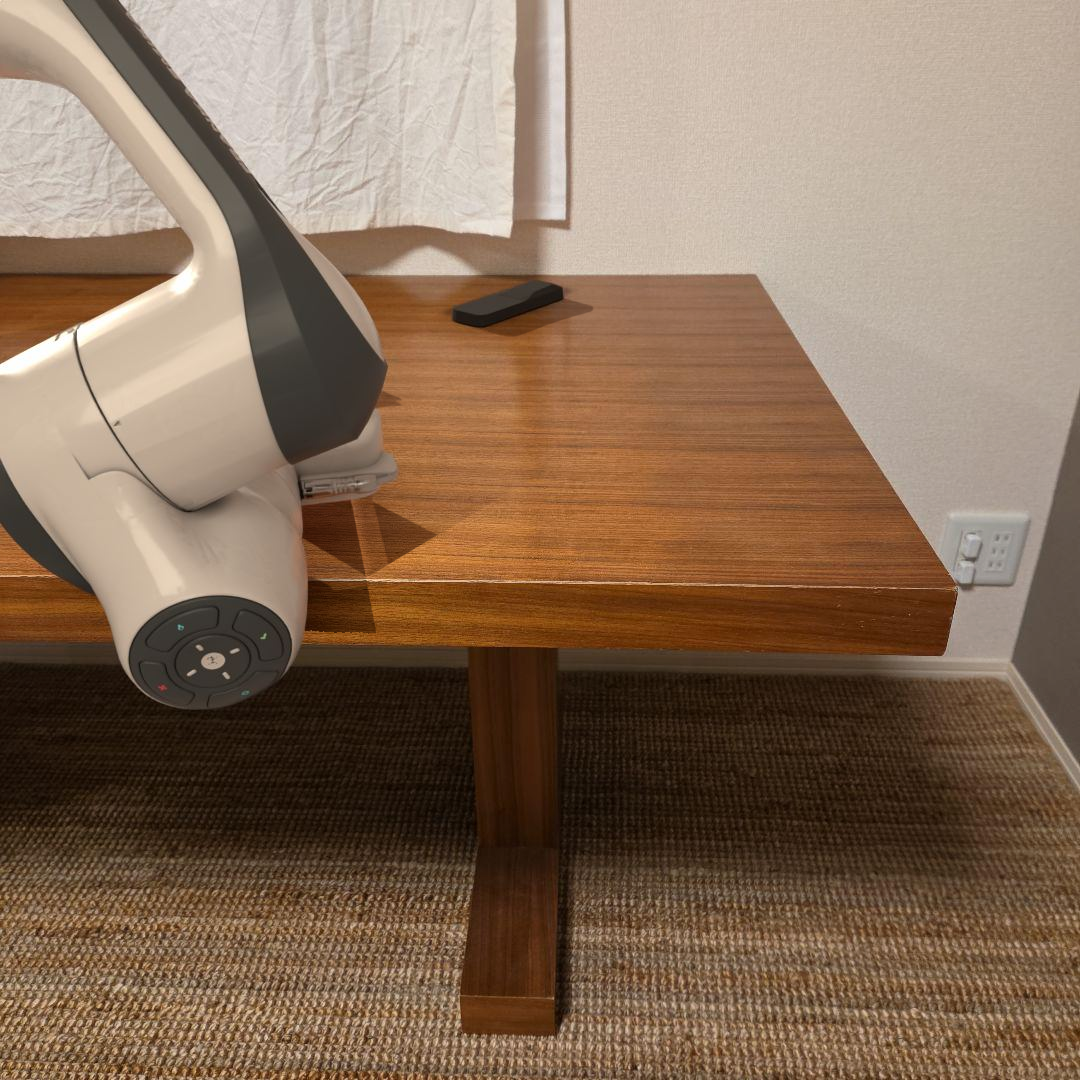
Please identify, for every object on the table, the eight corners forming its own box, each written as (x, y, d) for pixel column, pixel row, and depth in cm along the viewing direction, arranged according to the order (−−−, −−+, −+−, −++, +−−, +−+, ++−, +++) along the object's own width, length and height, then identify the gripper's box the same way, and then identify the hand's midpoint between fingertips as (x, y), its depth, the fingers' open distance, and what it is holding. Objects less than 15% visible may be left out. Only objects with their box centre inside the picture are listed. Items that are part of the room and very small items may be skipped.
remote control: (481, 333, 108) (567, 297, 118) (480, 316, 107) (566, 282, 117) (448, 324, 111) (534, 290, 121) (447, 308, 110) (534, 275, 120)
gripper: (399, 434, 58) (374, 358, 70) (18, 472, 54) (60, 384, 66) (406, 530, 62) (381, 442, 73) (47, 572, 57) (81, 472, 69)
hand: (226, 415), depth 70 cm, fingers open, 8 cm apart
